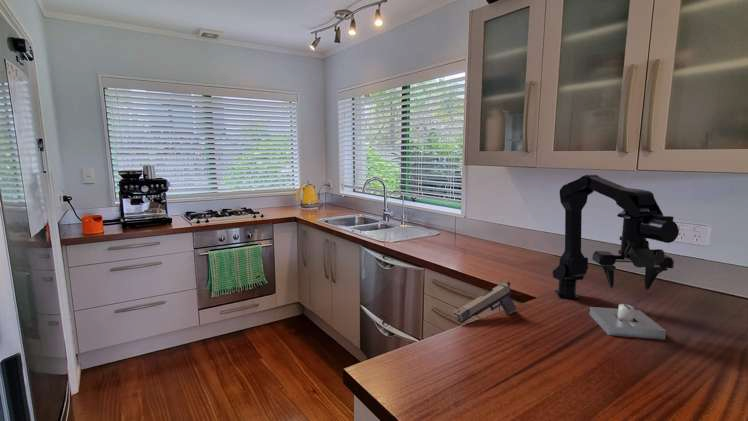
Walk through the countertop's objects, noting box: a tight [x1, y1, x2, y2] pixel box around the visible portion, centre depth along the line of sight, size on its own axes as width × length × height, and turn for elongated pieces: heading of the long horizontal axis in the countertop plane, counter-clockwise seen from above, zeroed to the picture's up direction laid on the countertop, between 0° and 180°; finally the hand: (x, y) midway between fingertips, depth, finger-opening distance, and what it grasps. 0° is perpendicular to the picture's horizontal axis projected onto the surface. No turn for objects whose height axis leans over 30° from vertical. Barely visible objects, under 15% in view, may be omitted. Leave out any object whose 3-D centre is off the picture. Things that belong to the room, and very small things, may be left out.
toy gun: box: [453, 281, 518, 324], centre depth 116 cm, size 2×21×10 cm, turn 112°
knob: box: [617, 303, 635, 322], centre depth 110 cm, size 4×4×6 cm
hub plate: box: [589, 306, 667, 340], centre depth 110 cm, size 14×14×3 cm
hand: (628, 288), depth 108 cm, fingers open, 9 cm apart
